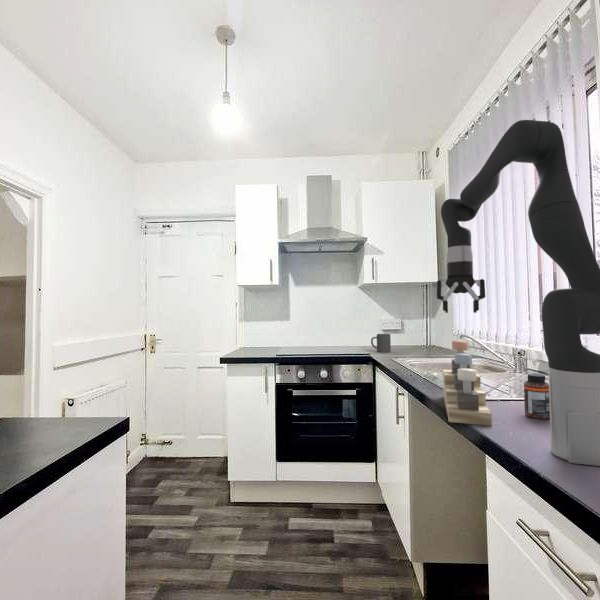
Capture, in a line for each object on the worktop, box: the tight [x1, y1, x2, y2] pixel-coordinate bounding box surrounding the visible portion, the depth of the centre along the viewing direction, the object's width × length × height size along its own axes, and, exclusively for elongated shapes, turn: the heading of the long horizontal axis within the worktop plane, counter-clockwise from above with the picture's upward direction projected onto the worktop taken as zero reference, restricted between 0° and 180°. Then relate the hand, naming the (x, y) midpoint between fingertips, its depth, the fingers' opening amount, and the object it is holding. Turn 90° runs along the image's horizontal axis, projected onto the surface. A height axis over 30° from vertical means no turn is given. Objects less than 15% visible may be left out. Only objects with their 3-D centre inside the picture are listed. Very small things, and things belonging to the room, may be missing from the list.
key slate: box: [454, 353, 473, 369], centre depth 106 cm, size 5×5×7 cm
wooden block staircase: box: [442, 358, 493, 426], centre depth 106 cm, size 28×10×13 cm, turn 161°
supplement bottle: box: [523, 372, 550, 420], centre depth 99 cm, size 6×6×11 cm
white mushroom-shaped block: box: [457, 368, 477, 393], centre depth 98 cm, size 5×5×7 cm
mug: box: [370, 333, 392, 354], centre depth 247 cm, size 14×9×12 cm
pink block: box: [451, 340, 469, 354], centre depth 115 cm, size 5×5×7 cm
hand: (460, 312), depth 116 cm, fingers open, 8 cm apart
